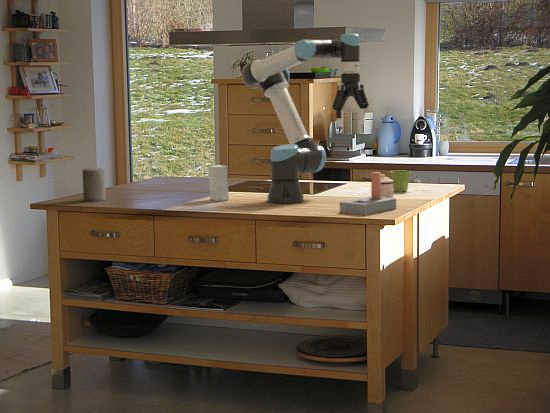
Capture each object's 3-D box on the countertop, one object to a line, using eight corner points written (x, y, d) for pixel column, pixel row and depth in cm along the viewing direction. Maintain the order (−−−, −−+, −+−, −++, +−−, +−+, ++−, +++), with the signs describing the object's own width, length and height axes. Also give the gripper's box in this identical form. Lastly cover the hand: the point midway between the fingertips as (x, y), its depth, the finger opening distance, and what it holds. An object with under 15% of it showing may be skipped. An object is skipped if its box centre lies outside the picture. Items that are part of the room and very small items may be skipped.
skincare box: (229, 200, 404) (228, 165, 402) (215, 201, 402) (214, 166, 400) (221, 198, 412) (220, 164, 410) (208, 199, 409) (207, 165, 407)
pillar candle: (79, 201, 412) (77, 166, 410) (91, 198, 421) (90, 164, 419) (98, 202, 409) (97, 167, 406) (110, 199, 418) (109, 165, 415)
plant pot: (410, 189, 428) (410, 170, 427) (411, 192, 419) (411, 172, 418) (389, 189, 429) (389, 170, 428) (390, 192, 420) (390, 172, 418)
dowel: (369, 208, 372) (369, 172, 370) (375, 207, 375) (375, 171, 373) (376, 209, 370) (376, 173, 368) (382, 207, 373) (382, 172, 370)
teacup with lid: (375, 200, 395) (375, 172, 394) (396, 201, 392) (396, 173, 390) (366, 204, 384) (366, 176, 383) (387, 205, 381) (387, 176, 379)
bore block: (339, 212, 366) (339, 202, 365) (371, 206, 380) (371, 196, 380) (364, 215, 358) (364, 204, 357) (396, 208, 372) (396, 198, 371)
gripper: (337, 73, 371) (338, 127, 374) (376, 72, 388) (377, 124, 391) (323, 73, 376) (323, 127, 379) (362, 72, 393) (362, 123, 397)
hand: (350, 125), depth 385 cm, fingers open, 13 cm apart
